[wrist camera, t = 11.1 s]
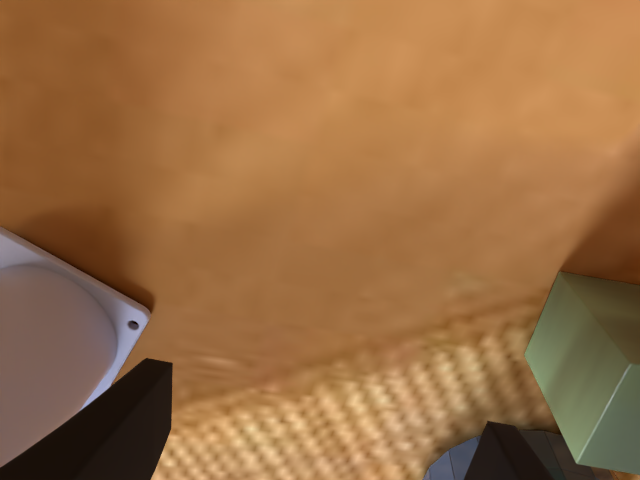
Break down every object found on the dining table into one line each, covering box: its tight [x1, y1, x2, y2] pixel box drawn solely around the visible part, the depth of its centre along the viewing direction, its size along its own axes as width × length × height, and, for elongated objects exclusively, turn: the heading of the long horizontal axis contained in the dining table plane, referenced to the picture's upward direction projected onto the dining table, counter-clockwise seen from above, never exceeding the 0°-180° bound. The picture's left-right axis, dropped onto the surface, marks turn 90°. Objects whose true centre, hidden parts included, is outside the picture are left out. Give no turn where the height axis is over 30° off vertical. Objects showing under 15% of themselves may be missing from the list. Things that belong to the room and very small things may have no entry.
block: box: [524, 272, 640, 475], centre depth 18 cm, size 4×4×6 cm
